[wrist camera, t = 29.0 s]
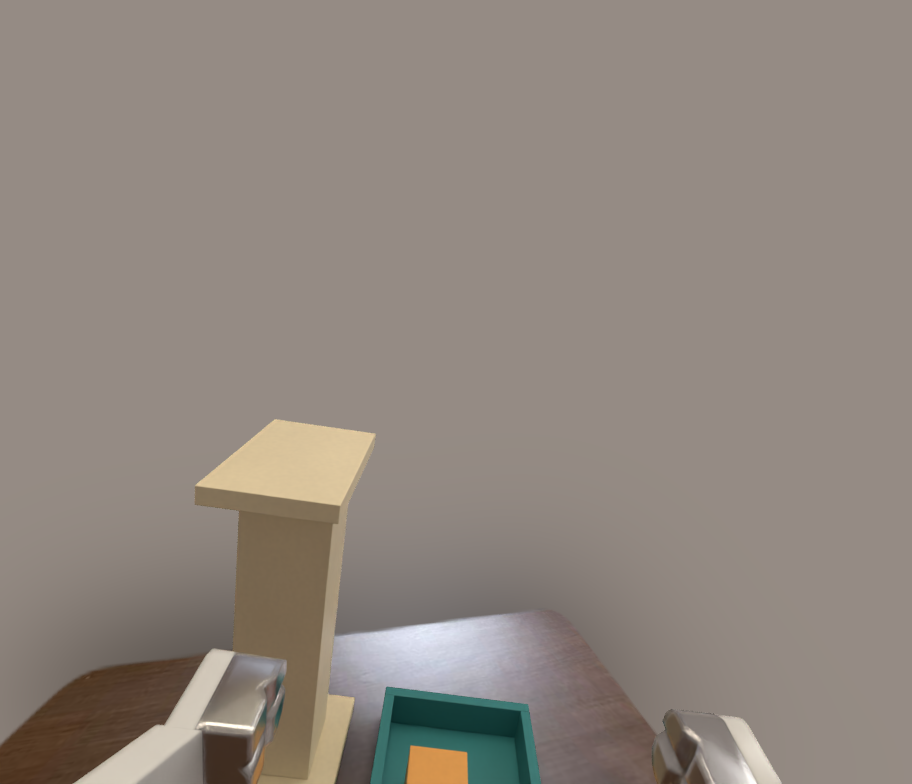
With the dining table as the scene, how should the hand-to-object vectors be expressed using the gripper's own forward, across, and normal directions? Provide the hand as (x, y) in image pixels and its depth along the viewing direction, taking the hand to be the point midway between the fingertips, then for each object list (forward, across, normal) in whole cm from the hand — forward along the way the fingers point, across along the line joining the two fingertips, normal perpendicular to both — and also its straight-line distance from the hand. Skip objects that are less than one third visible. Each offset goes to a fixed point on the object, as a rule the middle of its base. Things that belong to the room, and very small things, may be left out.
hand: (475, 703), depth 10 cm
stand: (+19, +10, +33) cm, 39 cm away
